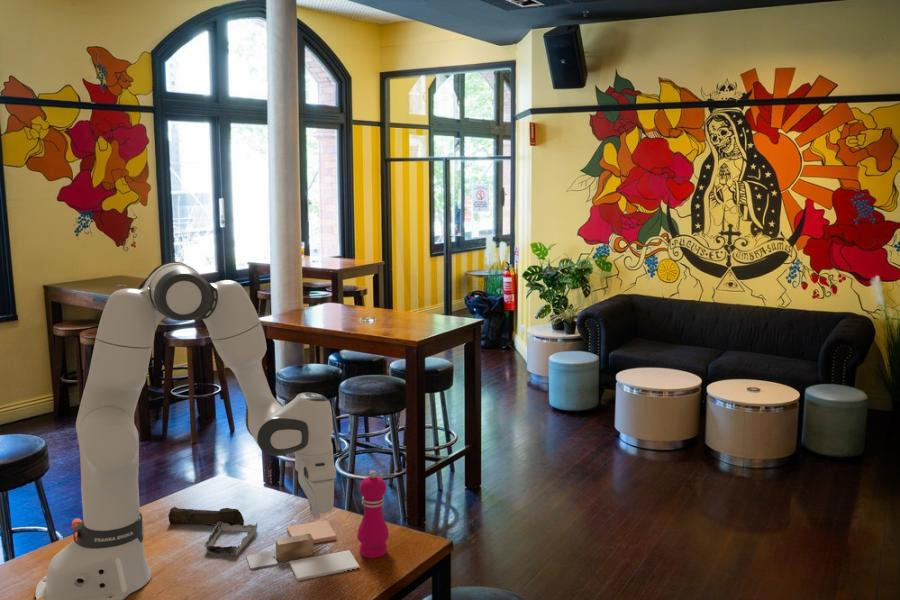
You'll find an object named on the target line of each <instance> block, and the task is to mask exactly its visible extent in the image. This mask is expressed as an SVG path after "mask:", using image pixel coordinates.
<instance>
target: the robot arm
mask: <svg viewBox="0 0 900 600" xmlns="http://www.w3.org/2000/svg"><path fill="white" fill-rule="evenodd" d="M164 318H168V319H170V320H173V321H176V322H177V321H178V322H189V321H194V320H196V321H197V320H202V321H203V323H204V324H205V326H206V328H207V331H208V334H209V336H210V340H211V342H212V345H213V346H214V349H215V351H216V353H217V354H218V355H219V357H220V359H221V360H222V362H223V364H225V366H226V367H227V368H228V369H230V370H231V371H232V373H233V374H234V376H235V378H236V380H237V383H238V385H239V388H240V392H241V394H242V396H243V399H244V402H245V421H244V422H245V427H246V430H247V432H248V433H249V435H250V436H251V437H252V439H254V441H255V442H256V444H257V446H258V447H259V449H260V450H261V451H262V452H263V453H264V454H265V455H269V456H271V457H280V456H285V455H289V454H292V453H294V469H295V471H296V472H298V473H297V479H298V480H297V481H298V483H299V485H300V488H301V489H302V491H303V492H304V495H305V496H306V497H307V499H308V500H307V501H308V506H309V514H310V515H311V517H312V519H319V518H320V517H321V515H322V514H329V513H332V511H333V508H334V502H335V501H334V499H335V480H334V479H336V478H337V469H336V466H335V462H334V446H333V445H334V444H333V442H332V435H333V430H334V428H333V427H334V426H333V412H332V406H331V403H330V400H329V399H328V398H327V397H326V396H324V395H322V394H321V393H320V394H319V393H316V392H309V391H307V392H304V391H303V392H301V393H298V394H297V395H296V396H295V397H294V399H292V400H291V401H289V402H288V403H286V404H285V405H284V404H282V403H281V402H280V401H279V400H278V399H277V398H276V397H275V396H274V395H273V393H272V391H271V388H270V386H269V383H268V379H267V377H266V375H265V371H264V368H263V365H262V363H263V362H262V361H263V358H264V357H265V355H266V352H267V350H268V348H267V341H266V335H265V332H264V331H265V330H264V328H263V325H262V323H261V320H260V318H259V315H258V313H257V309H256V308H255V306H254V304H253V302H252V300H251V298H250V297H249V295H248V293H247V292H246V290H245V288H244V287H243V286H242V284H240V283H239V282H237V281H235V280H232V279H224V280H222V279H221V280H218V281H215V282H208V280H206V279H205V278H204V277H203V276H201V274H200V273H199V272H198V271H197V270H196V269H194V268H193V267H192V266H190V265H187V264H185V263H183V262H180V261H167V262H163V263H162V264H160V265H158V266H157V267H155V268H154V269H153V270H152V271H151V272H150V273H149V275H148V276H146V278H145V279H144V280H143V281H142V282H141V284H140V285H139V286H138V288H132V287H131V288H130V287H129V288H121V289H117V290H115V291H113V292H112V293H111V294H110V295H109V297H108V298H107V301H106V304H105V306H104V308H103V311H102V314H101V316H100V320H99V324H98V327H97V332H96V335H95V340H94V341H95V342H94V346H93V350H92V354H91V360H90V366H89V371H88V376H87V378H86V379H87V380H86V381H85V387H84V390H83V392H82V397H81V400H80V403H79V404H80V405H79V409H78V412H77V416H76V421H75V430H76V434H77V435H76V436H77V441H78V447H79V458H80V459H79V460H80V461H79V462H80V463H79V464H80V483H81V484H80V490H81V502H82V517H83V518H82V519H83V520H82V519H81V518H78V517H77V518H74V519H73V520H72V521H71V529H72V530H73V533H72V534H73V535H72V536H73V540H72V541H71V542H70V543H68V544H67V545H66V546H65V547H64V548H63V549H61V550H60V551H59V552H57V553H56V554H55V555H54V556H53V557H52V558H51V560H50V563H49V565H48V567H47V571H46V572H47V573H46V575H45V576H43V577H42V578H41V579H40V580H39V582H38V583H37V585H36V588H35V592H34V593H35V594H34V595H35V597H36V598H37V600H38V599H39V598H44V599H45V600H125V599H126V597H128V596H129V595H130V594H131V593H134V592H136V591H138V590H139V589H141V588H143V587H144V586H146V584H148V582H149V581H150V580H151V578H152V571H151V568H150V566H149V564H148V560H147V556H146V551H145V548H144V542H143V541H144V537H145V529H144V527H145V526H144V519H143V515H142V512H141V511H140V493H139V492H140V491H139V467H140V441H139V440H140V438H139V437H140V436H139V432H138V429H137V427H136V424H135V412H136V408H137V405H138V401H139V398H140V396H141V393H142V389H144V386H145V384H146V381H147V376H148V370H149V365H150V360H151V357H152V351H153V345H154V341H155V334H156V331H157V328H158V326H159V324H160V322H161V321H162V320H163V319H164ZM43 581H46V582H43ZM35 597H34V598H35Z"/></svg>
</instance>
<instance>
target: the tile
mask: <svg viewBox="0 0 900 600" xmlns="http://www.w3.org/2000/svg"><path fill="white" fill-rule="evenodd" d="M286 530H287V533H288V535H289V537H293V536H299V535H304V534H311V536H312V538H313V545H314V544H318V543H324V542H329V541H330V542H331V541H336V540H337V533H336V532H335V531H334V529H333V527H332V526H331V524H330V523H329V521H328V520H327V519H324V520H319V521H312V522H308V523H302V524H295V525H290V526H286Z"/></svg>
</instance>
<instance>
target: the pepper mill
mask: <svg viewBox="0 0 900 600" xmlns="http://www.w3.org/2000/svg"><path fill="white" fill-rule="evenodd" d="M386 491H387V485H386V481H385V480H384V479H383V478H382V477H380V476H378V473H377V471H375V470H370V472H369V473H368V476H366V477H364V478H363V479H362V481H361V482H360V485H359V493H360V494H361V495H362V498H361V502H362V503H361V504H362V505H363V509H364V510H363V517H362V519H361V522H360V524H359V526H358V529H357V539H358V541H359V542H360V544H359V553H360V556H361V557H363V556H364V558H366V557H367V558H366V559H377V558H376V557H379V558H381V557H380V556H382V557H384V556H385V555H386V554H387V543H386V542H387V541H388V540H389V537H390V536H389V534H390V533H389V527H388V525H387V523H386V520H385V518H384V515H383V505H384V504H385V501H384V499H385V497H384V495H385V493H386ZM385 553H386V554H385ZM384 554H385V555H384ZM383 555H384V556H383Z"/></svg>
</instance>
